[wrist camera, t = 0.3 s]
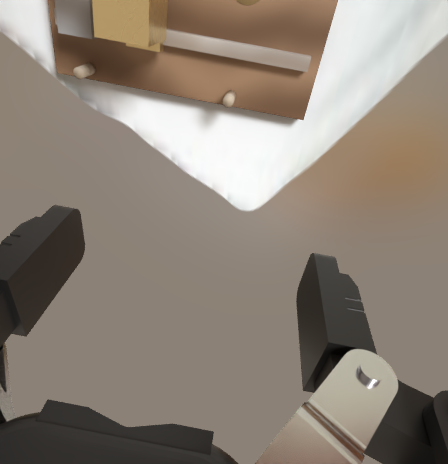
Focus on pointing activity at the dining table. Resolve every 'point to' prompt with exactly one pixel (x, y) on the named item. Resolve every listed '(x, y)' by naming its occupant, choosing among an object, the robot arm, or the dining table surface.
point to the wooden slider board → (207, 51)
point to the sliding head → (132, 22)
